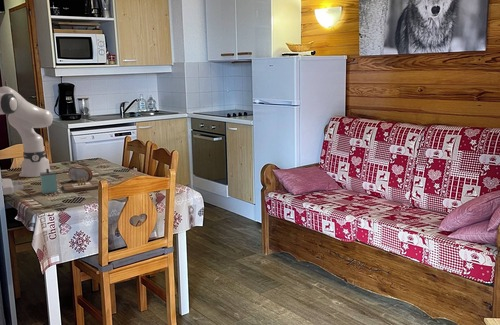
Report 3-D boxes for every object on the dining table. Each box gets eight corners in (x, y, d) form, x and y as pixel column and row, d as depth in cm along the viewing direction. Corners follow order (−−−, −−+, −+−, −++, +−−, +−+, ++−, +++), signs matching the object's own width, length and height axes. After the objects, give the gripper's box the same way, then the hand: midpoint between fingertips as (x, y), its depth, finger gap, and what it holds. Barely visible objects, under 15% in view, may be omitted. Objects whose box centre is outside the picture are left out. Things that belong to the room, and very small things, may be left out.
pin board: (62, 187, 267) (61, 178, 266) (96, 182, 275) (96, 174, 274) (66, 192, 255) (65, 183, 254) (102, 188, 263) (101, 178, 262)
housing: (41, 191, 259) (39, 168, 256) (56, 189, 262) (54, 167, 259) (42, 193, 254) (40, 170, 252) (57, 191, 257) (55, 169, 255)
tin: (93, 181, 279) (92, 166, 277) (89, 183, 276) (88, 168, 274) (71, 179, 284) (70, 165, 283) (68, 181, 281) (66, 166, 280)
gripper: (-9, 186, 236) (23, 182, 242) (-10, 177, 253) (20, 174, 260) (-7, 199, 237) (25, 195, 243) (-8, 190, 255) (22, 186, 261)
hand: (22, 184), depth 252 cm, fingers open, 8 cm apart
